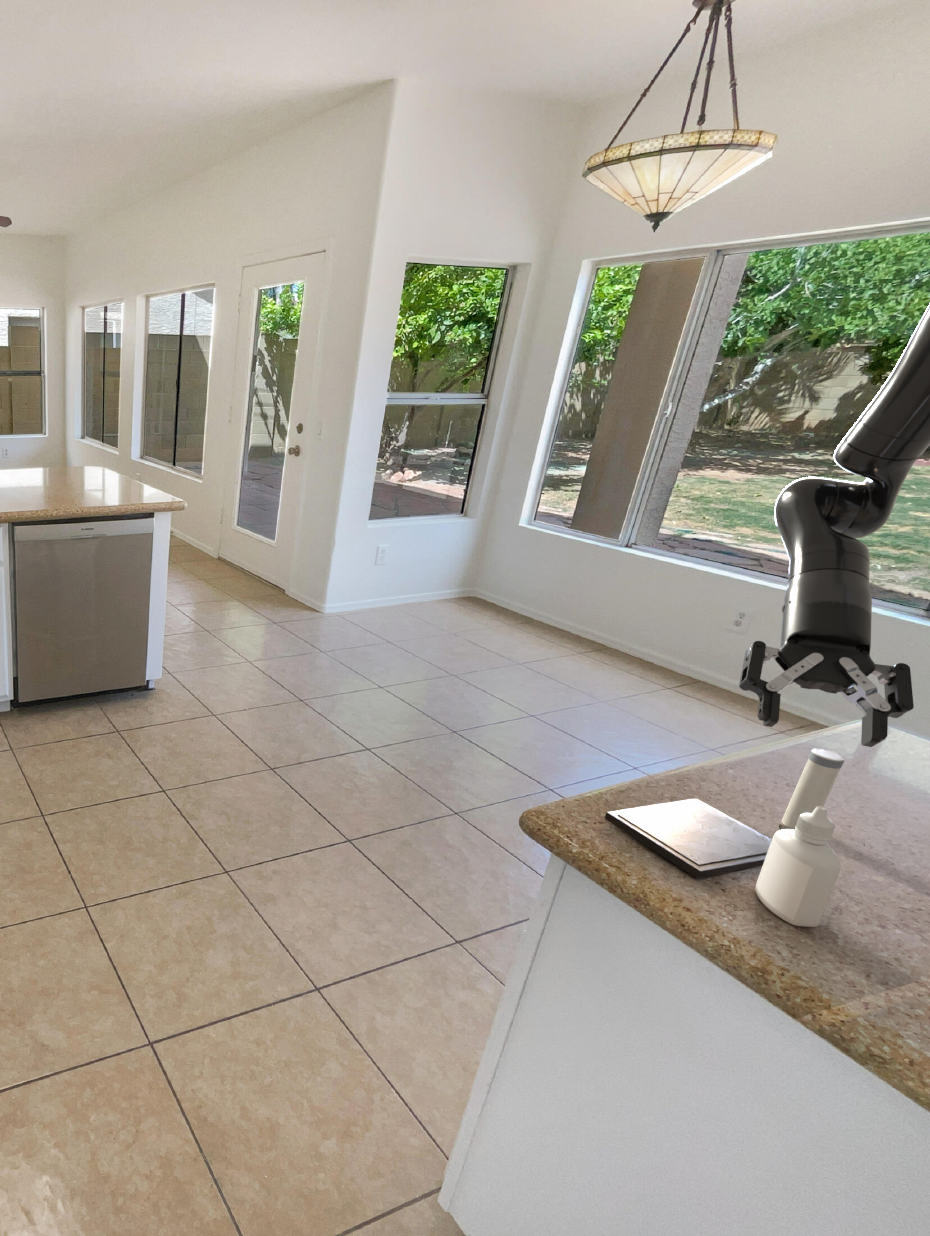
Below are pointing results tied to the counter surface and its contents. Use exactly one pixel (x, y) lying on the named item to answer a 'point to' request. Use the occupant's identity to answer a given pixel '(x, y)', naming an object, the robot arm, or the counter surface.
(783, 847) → the eye dropper bottle
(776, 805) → the counter surface
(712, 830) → the tablet
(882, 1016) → the counter surface
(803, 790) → the stylus
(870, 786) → the counter surface
